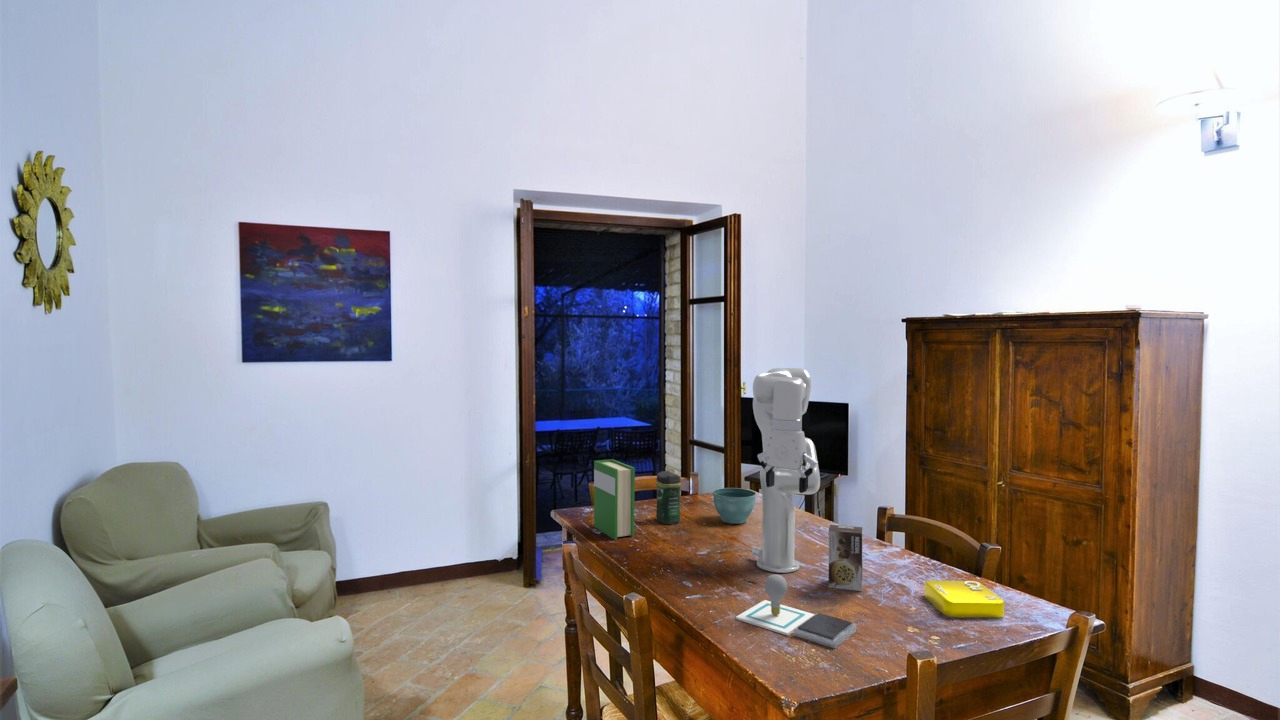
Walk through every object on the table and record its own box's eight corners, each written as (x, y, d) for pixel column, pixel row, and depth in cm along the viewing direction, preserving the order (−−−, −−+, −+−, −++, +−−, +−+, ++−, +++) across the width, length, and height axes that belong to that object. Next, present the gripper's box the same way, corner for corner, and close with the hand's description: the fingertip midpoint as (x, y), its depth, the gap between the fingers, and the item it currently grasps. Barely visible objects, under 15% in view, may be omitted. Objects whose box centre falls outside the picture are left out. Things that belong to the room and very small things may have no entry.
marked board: (735, 619, 165) (736, 616, 165) (764, 602, 175) (764, 599, 175) (787, 635, 156) (787, 632, 156) (814, 616, 166) (815, 614, 166)
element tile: (921, 595, 182) (922, 578, 181) (977, 596, 181) (978, 578, 181) (946, 618, 167) (946, 599, 166) (1007, 619, 166) (1007, 600, 166)
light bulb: (761, 610, 168) (762, 571, 168) (783, 610, 169) (783, 570, 168) (767, 620, 163) (768, 579, 162) (789, 619, 163) (790, 578, 163)
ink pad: (793, 635, 156) (793, 627, 156) (816, 619, 165) (817, 611, 165) (834, 648, 149) (835, 639, 149) (856, 630, 158) (856, 622, 158)
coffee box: (862, 583, 189) (863, 526, 188) (862, 592, 183) (863, 533, 182) (828, 579, 192) (829, 523, 191) (827, 587, 186) (828, 529, 185)
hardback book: (634, 537, 232) (634, 467, 231) (614, 539, 228) (615, 469, 228) (612, 524, 247) (612, 459, 247) (593, 526, 244) (594, 460, 243)
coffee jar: (683, 523, 249) (683, 473, 248) (664, 526, 246) (664, 475, 245) (672, 517, 258) (672, 468, 257) (653, 519, 254) (653, 470, 254)
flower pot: (713, 514, 262) (713, 486, 262) (755, 516, 260) (755, 488, 259) (711, 525, 246) (711, 496, 246) (756, 528, 244) (756, 498, 243)
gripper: (751, 424, 183) (751, 486, 183) (810, 430, 172) (809, 496, 172) (765, 421, 188) (765, 482, 189) (823, 427, 177) (822, 491, 178)
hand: (786, 489), depth 181 cm, fingers open, 9 cm apart
